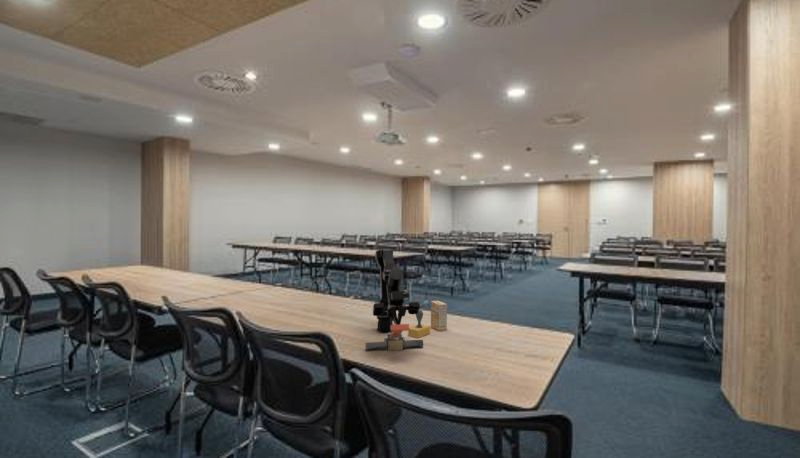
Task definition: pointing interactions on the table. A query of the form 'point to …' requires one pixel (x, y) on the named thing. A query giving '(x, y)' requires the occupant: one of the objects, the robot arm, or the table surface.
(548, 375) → the table surface
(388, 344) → the pipe valve
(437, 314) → the supplement box
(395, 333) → the lever
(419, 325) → the rubber stamp
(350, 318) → the table surface
